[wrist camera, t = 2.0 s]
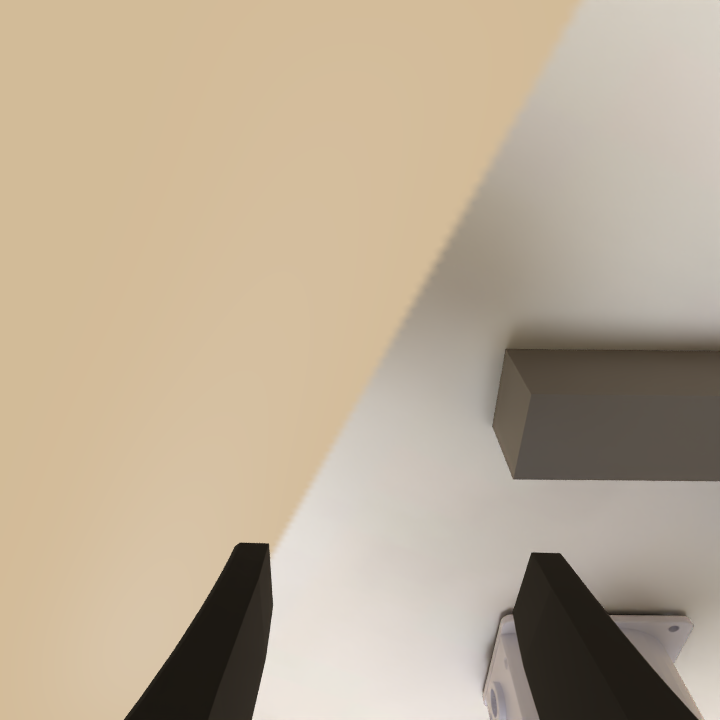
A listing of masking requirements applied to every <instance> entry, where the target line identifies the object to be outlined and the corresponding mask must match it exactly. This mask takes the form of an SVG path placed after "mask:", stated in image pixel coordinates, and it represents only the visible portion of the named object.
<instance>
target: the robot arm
mask: <svg viewBox="0 0 720 720" xmlns="http://www.w3.org/2000/svg"><path fill="white" fill-rule="evenodd" d="M272 610H273V597H272V582H271V567H270V552H269V544H265V543H239V544H237V545H236V546H235V547H234V549H233V552H232V553H231V556H230V558H229V559H228V562H227V563H226V565H225V567H224V569H223V571H222V573H221V574H220V576H219V578H218V580H217V582H216V583H215V585H214V587H213V589H212V590H211V592H210V594H209V595H208V597H207V599H206V600H205V602H204V604H203V605H202V607H201V609H200V610H199V612H198V613H197V615H196V616H195V618H194V620H193V621H192V623H191V624H190V626H189V627H188V629H187V630H186V632H185V634H184V635H183V637H182V638H181V640H180V641H179V643H178V644H177V646H176V648H175V649H174V651H173V652H172V653H171V655H170V657H169V658H168V659H167V661H166V662H165V663H164V665H163V666H162V668H161V669H160V671H159V672H158V673H157V675H156V676H155V678H154V679H153V680H152V682H151V683H150V685H149V686H148V688H147V689H146V690H145V692H144V693H143V695H142V696H141V697H140V699H139V700H138V702H137V703H136V704H135V705H134V707H133V708H132V709H131V711H130V712H129V713H128V715H127V716H126V718H125V719H124V720H252V716H253V712H254V708H255V703H256V699H257V695H258V690H259V686H260V682H261V677H262V673H263V668H264V664H265V660H266V653H267V646H268V639H269V632H270V625H271V617H272ZM693 627H694V625H693V623H692V622H691V620H690V619H689V618H688V617H686V616H654V615H608V613H607V612H606V611H605V610H604V608H603V607H602V606H601V605H600V603H599V602H598V601H597V600H596V598H595V597H594V596H593V594H592V593H591V592H590V591H589V589H588V588H587V587H586V585H585V584H584V583H583V582H582V580H581V579H580V578H579V576H578V575H577V574H576V573H575V571H574V570H573V569H572V567H571V566H570V565H569V564H568V562H567V561H566V560H565V559H564V557H563V556H562V555H561V554H560V553H531V556H530V559H529V562H528V565H527V569H526V572H525V575H524V578H523V581H522V584H521V588H520V591H519V594H518V597H517V600H516V604H515V607H514V610H513V614H510V615H506V616H504V617H503V618H502V619H501V622H500V626H499V630H498V634H497V639H496V643H495V647H494V651H493V655H492V659H491V664H490V668H489V672H488V676H487V680H486V684H485V689H484V693H483V701H484V704H485V705H486V706H487V707H488V712H489V717H490V720H704V718H703V717H702V715H701V713H700V711H699V709H698V707H697V706H696V704H695V702H694V700H693V698H692V697H691V695H690V693H689V691H688V689H687V687H686V686H685V684H684V682H683V680H682V678H681V676H680V675H679V673H678V671H677V669H676V667H675V666H674V662H675V660H676V658H677V657H678V655H679V653H680V651H681V649H682V648H683V646H684V644H685V642H686V640H687V639H688V637H689V635H690V633H691V631H692V630H693Z"/></svg>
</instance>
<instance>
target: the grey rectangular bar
mask: <svg viewBox="0 0 720 720" xmlns="http://www.w3.org/2000/svg"><path fill="white" fill-rule="evenodd" d="M492 427H493V429H494V432H495V434H496V437H497V439H498V442H499V444H500V447H501V449H502V452H503V455H504V457H505V460H506V462H507V465H508V467H509V470H510V472H511V475H512V477H513V479H533V480H647V481H720V351H660V350H548V349H506V350H505V356H504V362H503V368H502V374H501V379H500V385H499V391H498V397H497V403H496V408H495V414H494V420H493V426H492Z"/></svg>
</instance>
